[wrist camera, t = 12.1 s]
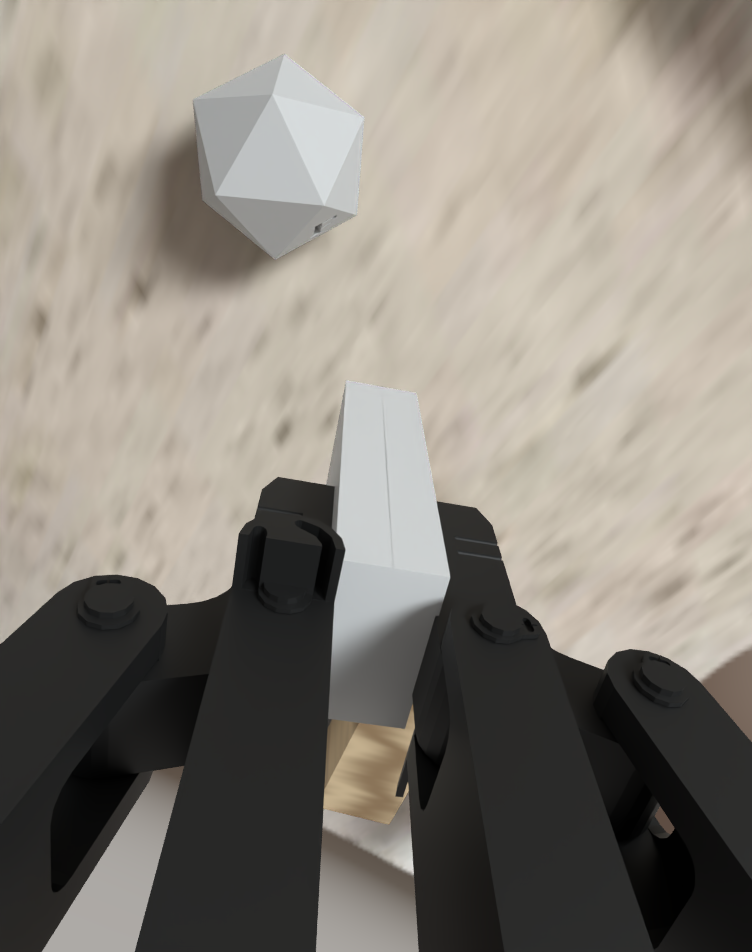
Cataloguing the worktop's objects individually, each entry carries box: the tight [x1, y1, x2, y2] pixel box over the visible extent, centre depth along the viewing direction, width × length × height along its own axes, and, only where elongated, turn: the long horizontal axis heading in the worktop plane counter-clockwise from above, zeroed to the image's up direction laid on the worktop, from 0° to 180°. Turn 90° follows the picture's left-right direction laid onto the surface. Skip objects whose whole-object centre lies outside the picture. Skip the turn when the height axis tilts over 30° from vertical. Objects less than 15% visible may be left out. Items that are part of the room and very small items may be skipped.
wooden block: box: [323, 704, 415, 825], centre depth 54 cm, size 6×6×15 cm
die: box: [193, 54, 364, 260], centre depth 36 cm, size 8×9×10 cm
